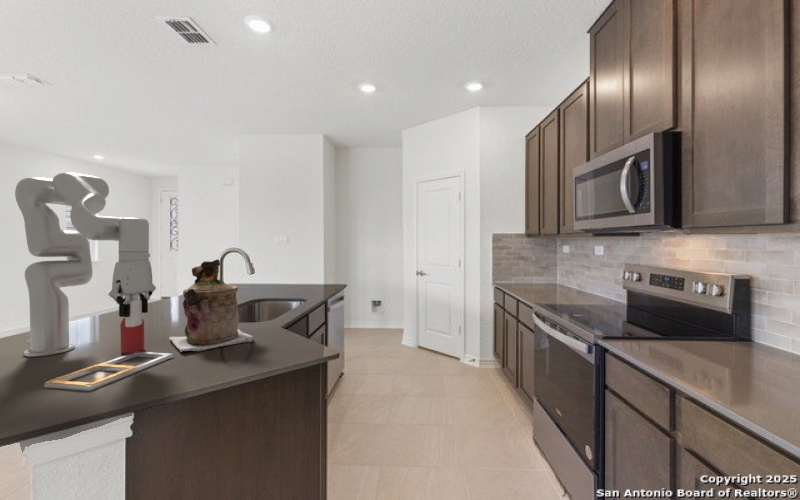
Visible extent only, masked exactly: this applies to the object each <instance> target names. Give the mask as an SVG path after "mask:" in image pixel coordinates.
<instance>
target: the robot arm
mask: <svg viewBox="0 0 800 500" xmlns="http://www.w3.org/2000/svg"><path fill="white" fill-rule="evenodd" d="M109 194H110V187H109V184H108V183H107V182H106V180H105V179H103V178H102V177H98V176H94V175H88V174H82V173H76V172H60V173H58V174H56V175H54V177H53V178H46V177H35V176H34V177H25V178H22V179H21V180H19V181H18V183H17V184H16V186H15V192H14V195H15V197H14V198H15V202H16V203H17V206H18V208H19V211H20V212H21V214H22V217H23V220H24V229H25V238H26V244H27V249H28V251H29V253H30V255H32V256H34V257H36V258H65V257H66V258H67V260H58V259H57V260H42V261H41V260H40V261H37V262H33V263H31V264H29V265H28V266H27V267H26V269H25V271H24V279H25V282H26V286H27V290H28V297H29V299H28V300H29V333H30V334H29V335H30V336H29V337H30V339H28V340H27V341H25V342H24V345H25V346H28V349H27V350H24V351H23V356H25V357H36V358H37V357H45V356H52V355H57V354H63V353H66V352H69V351H71V350H73V349H75V348H76V344H75V343H73V342H70V321H69V320H70V317H69V316H70V308H69V307H70V305H69V298H68V296H67V295H66V293H64V291H62V290H61V288H66V287H77V286H82V285H86V284H88V283H89V282H91V279H92V278H93V265H92V264H93V262H92V256H91V255H92V254H91V249H90V243H89V240H91V241H113V242H118V261H116V262H115V266H114V267H113V268H114V269H113V274H112V282H111V283H112V284H111V290H110V292H109V293H108V296H109V297H110V298H112V299H113V301H115V302H116V304H117V305H118V316H119V317H120V318H124V317H129V316H130V304H128V301H129V299H130V294H136V293H139V299H141V300H142V314H143V313H144V314H146V313H149V301H150V299H151V298H150V297H151V296H152V295H153V293H154V292H155V290H157V287H156V286H155V284H154V283H153V273H152V265H151V261H150V260H149V259H150V257H151V254H150V223H149V221H148V219H146V218H140V217H121V216H120V217H117V216H109V215H108V216H106V215H105V216H103V215H97V214H99V213H100V212H102V211H103V210H104V209H105V207H106V205H107V201H106V198H107V197H108V196H109ZM47 204H53V205H62V206H71V209H70V215H69V216H70V217H69V218H70V222H71V224H72V226H73V228H74V229H75V230H62V229H61V226H60V218H59V216H58V214H57V213H56V212H55V211H54V210H53V209H52V208H51V207H50V206H49V205H47Z"/></svg>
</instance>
